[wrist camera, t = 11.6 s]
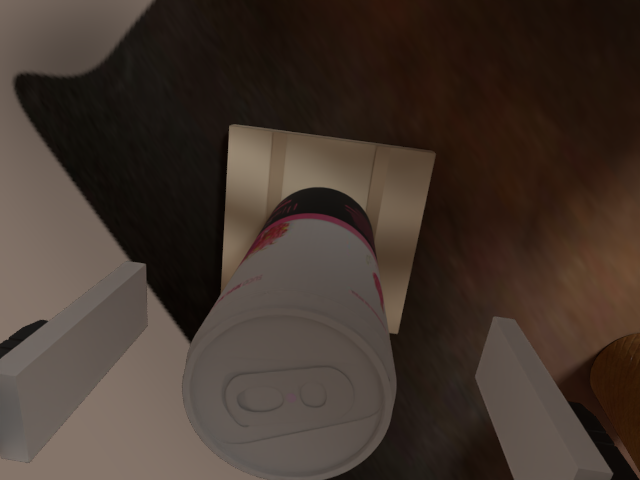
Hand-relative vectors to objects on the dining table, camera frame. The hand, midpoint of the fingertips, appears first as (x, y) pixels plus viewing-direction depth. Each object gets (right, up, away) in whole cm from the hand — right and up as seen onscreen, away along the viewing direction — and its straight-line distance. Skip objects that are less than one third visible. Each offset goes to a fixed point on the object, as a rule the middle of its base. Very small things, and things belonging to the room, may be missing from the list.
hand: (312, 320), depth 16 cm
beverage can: (0, +3, +11) cm, 11 cm away
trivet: (0, +4, +12) cm, 12 cm away
